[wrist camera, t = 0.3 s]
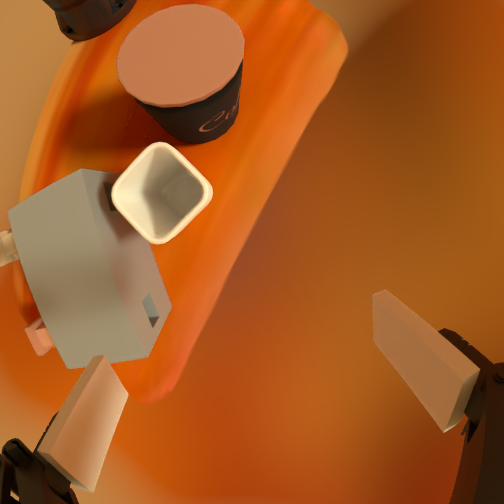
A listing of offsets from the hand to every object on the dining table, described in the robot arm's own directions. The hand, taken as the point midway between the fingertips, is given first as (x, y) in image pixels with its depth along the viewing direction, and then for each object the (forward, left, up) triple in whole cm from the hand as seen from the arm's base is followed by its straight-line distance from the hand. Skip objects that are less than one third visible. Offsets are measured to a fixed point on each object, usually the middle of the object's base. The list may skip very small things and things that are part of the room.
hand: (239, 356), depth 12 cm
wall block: (-4, -17, -27) cm, 32 cm away
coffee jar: (-20, +1, -28) cm, 34 cm away
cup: (-9, -4, -28) cm, 29 cm away
